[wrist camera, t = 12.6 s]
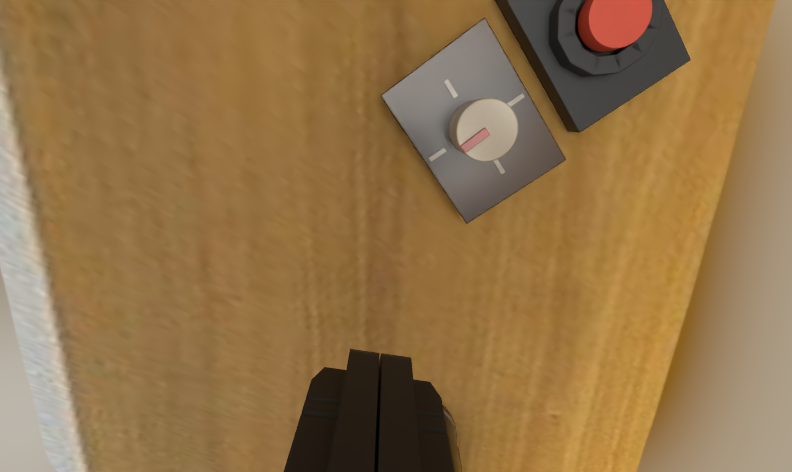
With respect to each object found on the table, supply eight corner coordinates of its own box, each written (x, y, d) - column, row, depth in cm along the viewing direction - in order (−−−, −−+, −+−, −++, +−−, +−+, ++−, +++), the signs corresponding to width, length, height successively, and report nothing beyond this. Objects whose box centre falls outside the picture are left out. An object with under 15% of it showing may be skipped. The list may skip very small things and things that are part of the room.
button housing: (671, 63, 31) (709, 56, 27) (568, 131, 32) (590, 133, 29) (602, -86, 28) (633, -118, 24) (493, -3, 30) (506, -21, 26)
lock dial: (482, 88, 29) (497, 83, 24) (512, 133, 30) (531, 136, 25) (438, 123, 30) (444, 124, 25) (468, 165, 30) (479, 174, 26)
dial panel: (552, 155, 33) (567, 159, 30) (461, 215, 35) (467, 224, 32) (477, 26, 30) (485, 16, 27) (382, 97, 32) (380, 95, 29)
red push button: (647, 28, 27) (663, 22, 25) (593, 64, 28) (606, 61, 26) (621, -27, 26) (636, -37, 24) (566, 12, 27) (577, 5, 25)
